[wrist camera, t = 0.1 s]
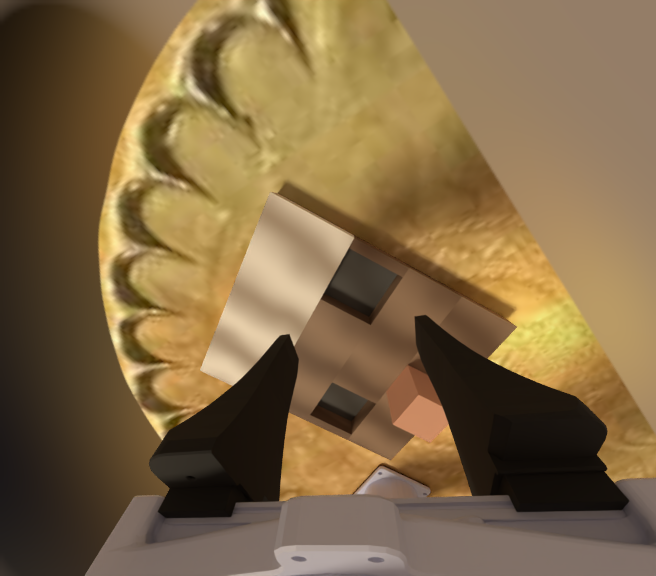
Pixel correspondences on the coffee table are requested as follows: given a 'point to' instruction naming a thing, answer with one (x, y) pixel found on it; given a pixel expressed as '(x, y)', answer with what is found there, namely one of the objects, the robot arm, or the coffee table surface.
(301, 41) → the coffee table surface
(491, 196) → the coffee table surface
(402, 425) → the block
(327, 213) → the coffee table surface
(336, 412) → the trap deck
